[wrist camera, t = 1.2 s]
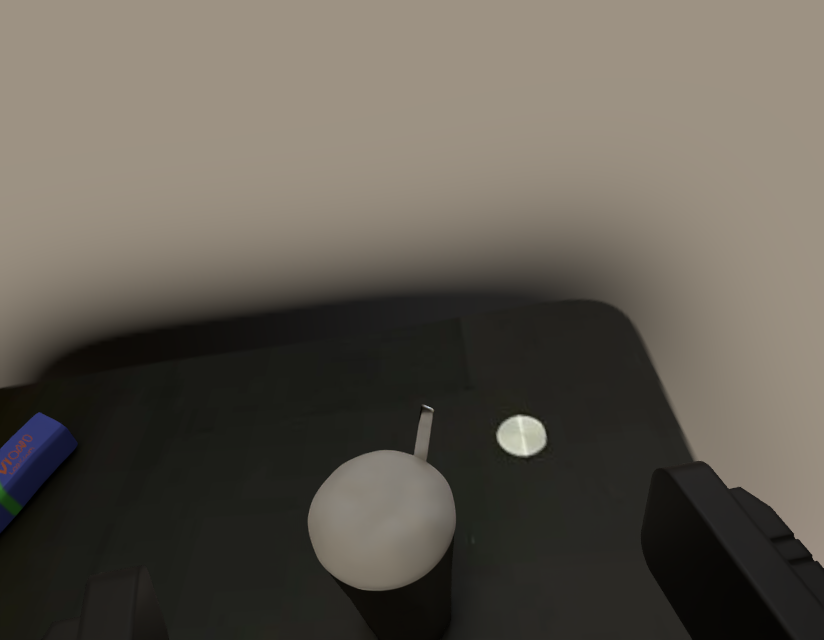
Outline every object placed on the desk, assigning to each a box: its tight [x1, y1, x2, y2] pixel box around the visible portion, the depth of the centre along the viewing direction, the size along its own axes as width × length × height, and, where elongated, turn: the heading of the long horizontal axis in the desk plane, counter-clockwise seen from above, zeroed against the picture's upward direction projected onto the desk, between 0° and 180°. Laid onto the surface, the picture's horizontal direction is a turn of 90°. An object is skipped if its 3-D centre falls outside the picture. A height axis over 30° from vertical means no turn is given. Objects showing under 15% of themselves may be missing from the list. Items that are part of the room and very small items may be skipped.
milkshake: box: [308, 405, 456, 640], centre depth 25 cm, size 5×5×10 cm
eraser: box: [0, 413, 77, 533], centre depth 34 cm, size 2×6×2 cm, turn 152°
